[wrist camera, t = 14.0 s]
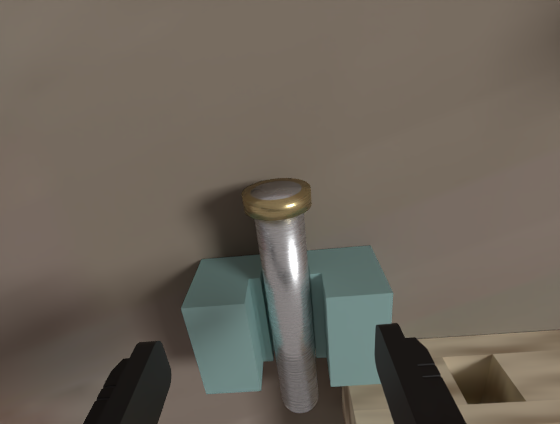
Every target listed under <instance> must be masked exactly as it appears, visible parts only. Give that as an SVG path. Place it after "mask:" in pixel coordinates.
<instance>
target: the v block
mask: <svg viewBox="0 0 560 424" xmlns="http://www.w3.org/2000/svg"><path fill="white" fill-rule="evenodd" d="M307 259H308V271H309V284H310V296H311V308H312V321H313V333H314V345H315V350H316V358H326V357H327V363H328V370H329V377H330V384H331V387H336V386H354V385H371V384H381V382H380V379H379V376H378V372H377V369H376V364H375V355H374V352H375V328H376V325H379V324H391V321H392V304H393V292H392V290H391V287H390V285H389V283H388V281H387V279H386V277H385V275H384V273H383V271H382V269H381V266H380V264H379V262H378V260H377V258H376V256H375V254H374V252H373V250H372V248H371V246H358V247H346V248H334V249H322V250H309V251H307ZM181 311H182V314H183V317H184V321H185V324H186V327H187V331H188V334H189V337H190V341H191V344H192V347H193V351H194V354H195V357H196V361H197V364H198V367H199V371H200V374H201V377H202V381H203V384H204V387H205V391H206V394H216V393H233V392H251V391H261V386H262V372H263V361H273V355H274V343H273V337H272V330H271V324H270V317H269V311H268V304H267V298H266V291H265V285H264V278H263V272H262V266H261V259H260V255H248V256H236V257H224V258H212V259H202V260H201V262H200V264H199V267H198V269H197V272H196V274H195V276H194V279H193V281H192V283H191V286H190V288H189V290H188V293H187V295H186V298H185V300H184V302H183V305H182V307H181Z"/></svg>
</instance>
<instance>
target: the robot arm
mask: <svg viewBox="0 0 560 424" xmlns="http://www.w3.org/2000/svg"><path fill="white" fill-rule="evenodd" d="M374 355H375V364H376V369H377V372H378V376H379V379H380V382H381V385H382V388H383V391H384V394H385V397H386V400H387V403H388V407H389V410H390V413H391V416H392V419H393V422H394V424H467V423H466V422H465V420H464V418H463V416H462V414H461V412H460V410H459V408H458V407H457V405H456V403H455V401H454V399H453V397H452V395H451V393H450V391H449V389H448V387H447V386H446V384H445V382H444V380H443V378H442V377H441V374H440V372H439V370H438V368H437V366H435V363H434V361H433V359H432V357H431V355H430V353H429V351H428V349H427V348H426V347H425V346H424V345H423V344H422V343H421V342H420V341H418V340H417V339H416V338H415V337H414V338H405V337H404V335H403V333H402V331H401V328H400V326H399V325H398V324H397V323H392V324H379V325H376V328H375V352H374ZM170 383H171V368H170V365H169V362H168V359H167V357H166V354H165V351H164V348H163V345H162V343H161V342H160V341H151V342H139V343H138V344H137V345H136V346H135V348H134V350H133V352H132V354H131V356H130V358H127V359H123V360H122V361H121V362H120V363H119V364H118V365H117V366H116V367H115V368H114V369H113V370H112V371H111V373H110V375H109V376H108V378H107V380H106V382H105V384H104V386H103V389H101V391H100V393H99V395H98V397H97V401H95V402H94V404H93V406H92V408H91V410H90V412H89V414H88V415H87V417H86V419H85V421H84V423H83V424H157V423H158V420H159V417H160V414H161V411H162V408H163V405H164V402H165V399H166V396H167V393H168V390H169V387H170Z"/></svg>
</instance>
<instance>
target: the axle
mask: <svg viewBox="0 0 560 424" xmlns="http://www.w3.org/2000/svg"><path fill="white" fill-rule="evenodd" d="M242 199H243V205H244V211H245V213H246V215H248V216H249V217H251V218H254V220H255V227H256V233H257V240H258V246H259V253H260V259H261V266H262V272H263V278H264V285H265V291H266V298H267V304H268V311H269V317H270V324H271V330H272V337H273V343H274V350H275V356H276V363H277V369H278V376H279V382H280V389H281V395H282V401H283V403H284V405H285V406H286V408H288V409H289V410H290V411H292V412H295V413H305V412H308V411H310V410H311V409H312V408H314V406H315V405H316V403H317V401H318V396H319V395H318V382H317V370H316V357H315V345H314V333H313V321H312V308H311V296H310V284H309V271H308V259H307V247H306V234H305V222H304V212H306V211H307V210H308V209H309V208H310V207H311V204H312V203H311V189H310V185H309V184H308V183H307V182H305V181H303V180H299V179H292V178H278V179H270V180H265V181H261V182H258V183H255V184H252V185H250V186H249V187H247V188H246V189H244V191H243V192H242Z"/></svg>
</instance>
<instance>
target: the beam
mask: <svg viewBox="0 0 560 424" xmlns="http://www.w3.org/2000/svg"><path fill="white" fill-rule="evenodd" d="M417 340H418V341H420V342H421V343H422V344H423V345H424V346H425V347H426V348H427V349H428V351H429V353H430V355H431V357H432V359H433V361H434V363H435V366H437V368H438V370H439V372H440V374H441V377H442V378H443V380H444V382H445V384H446V386H447V387H448V389H449V391H450V393H451V395H452V397H453V399H454V401H455V403H456V405H457V407H458V408H459V410H460V412H461V414H462V416H463V418H464V420H465V422H466V423H467V424H560V330H550V331H535V332H520V333H504V334H489V335H474V336H458V337H443V338H428V339H417ZM342 409H343V415H344V421H345V424H394V422H393V419H392V416H391V413H390V410H389V407H388V403H387V400H386V397H385V394H384V391H383V388H382V385H381V384H371V385H354V386H342Z"/></svg>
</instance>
